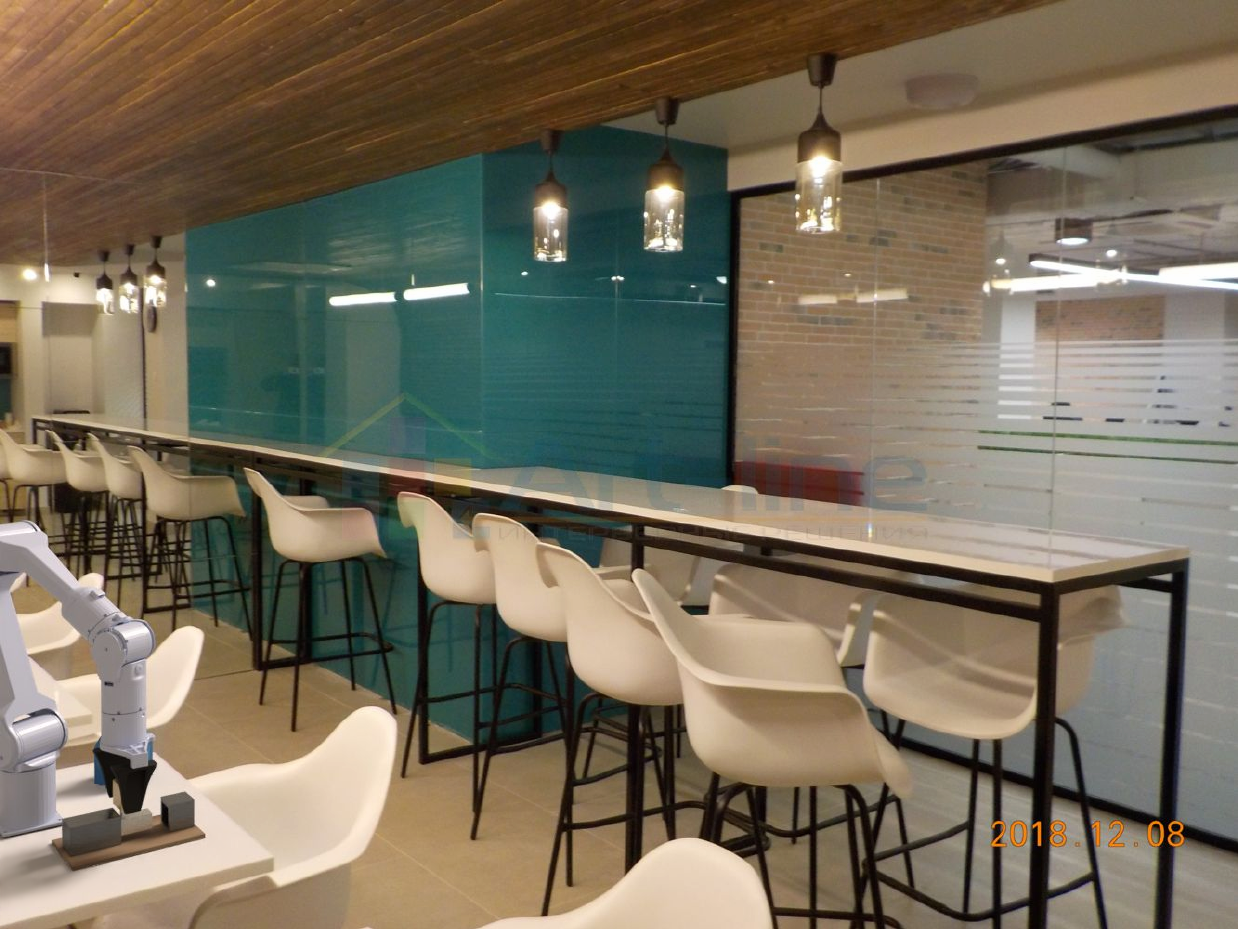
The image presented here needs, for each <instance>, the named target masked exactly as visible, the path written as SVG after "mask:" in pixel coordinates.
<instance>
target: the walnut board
mask: <svg viewBox="0 0 1238 929" xmlns="http://www.w3.org/2000/svg"><path fill="white" fill-rule="evenodd" d="M205 838H206V833H205V832H204V831H203V830H202V829H201V828H200V827H198V826H197V825H196V824H195V827H191V828H187V829H183V830H179V831H175V832H171V833H170V832H169V831H167V830H166V829H165V828H164V827H163V826H162V825H161V813H160V814H156V815H152V828H151V829H147V830H143V831H139V832H135V833H130V834H126V835H122V836H121V845H118V846H114V847H109V848H105V849H101V850H97V851H93V852H89V853H85V854H81V855H77V856H73V857H69V855H68V854H67V853H66V851H65V850H64V849H63V847H62V836H61V837H58V838H53V839H51V844H52V845H53V846H54V848H55V849H56V850H57V852H58V854H59V855H60V856H61V857H62V859H63V860H64V861H65V863H66V862H67V863H66V864H67V865H68V866H69V868H70V869H71V871H73V872H74V871H78V870H82V869H86V868H89V867H94V866H93V865H95V866H98V865H97V864H99V865H102V864H106V863H110V862H113V861H117V860H121V859H126V858H130V857H134V856H137V855H141V854H145V853H149V852H153V851H156V850H157V849H158V850H160V849H161V850H162V849H165V848H169V847H173V846H178V845H181V844H185V843H189V842H193V841H196V840H197V841H198V840H200V839H205ZM101 863H102V864H101Z"/></svg>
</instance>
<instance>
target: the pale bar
mask: <svg viewBox="0 0 1238 929" xmlns="http://www.w3.org/2000/svg"><path fill="white" fill-rule="evenodd" d="M112 804H113V805H114V806H115V807H116V808H117V809H118V810H119V815H120V816H121V836H122V835H126V834H130V833H135V832H139V831H143V830H147V829H151V828H152V816H153V812H152V811H151V810H150V809H149V808H144V809H141V811H140V812H135V813H131V814H125V813H124V811H123V808H122V803H121V796H120V790H119V786H118V783H117V780H116V779H114V780H113V798H112Z"/></svg>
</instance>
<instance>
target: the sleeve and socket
mask: <svg viewBox="0 0 1238 929" xmlns="http://www.w3.org/2000/svg"><path fill="white" fill-rule="evenodd" d="M195 802H196V801H195V798H193V797H192V796H191V795H190V794H189V793H187V791H182V792H178V793H177V792H176V793H172V794H168V795H163V796H160V814H161V825H162V826H163V827H164V828H165V829H166V830H167V831H169V832H170V833H171V832H175V831H179V830H183V829H187V828H191V827H195V825H196V824H195V822H196V819H195V816H196V815H195V814H196V812H195V811H196V807H195V805H196V803H195ZM61 830H62V831H61V837H62V847H63V849H64V850H65V851H66V853H67V854H68V855H69V857H73V856H77V855H81V854H85V853H89V852H93V851H97V850H101V849H105V848H109V847H114V846H118V845H121V816H120V813H118V811H117V810H116V809H115V808H114V807H108V808H105V809H100V810H95V811H92V812H86V813H82V814H78V815H72V816H68V817H64V818H63V819H62V825H61Z"/></svg>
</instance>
